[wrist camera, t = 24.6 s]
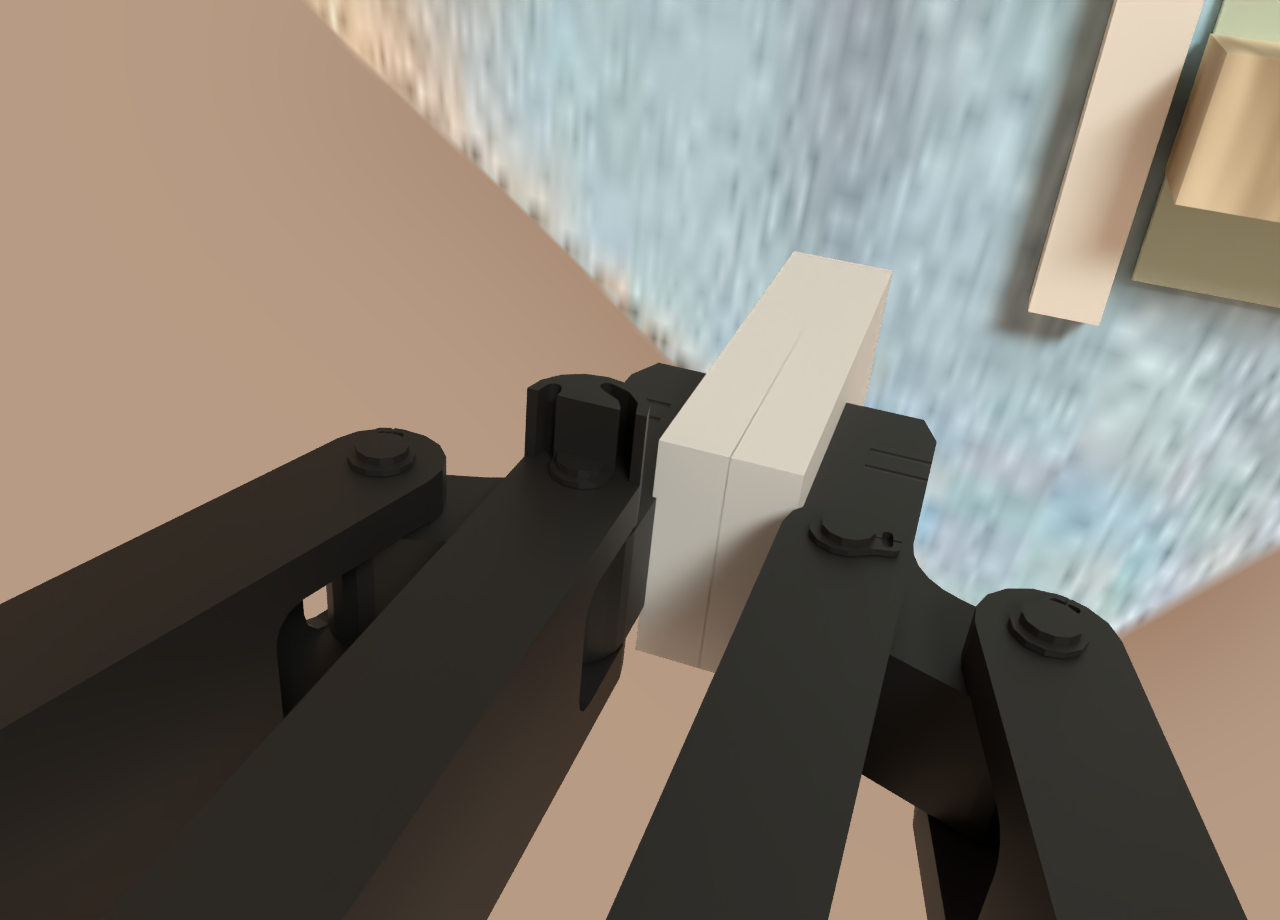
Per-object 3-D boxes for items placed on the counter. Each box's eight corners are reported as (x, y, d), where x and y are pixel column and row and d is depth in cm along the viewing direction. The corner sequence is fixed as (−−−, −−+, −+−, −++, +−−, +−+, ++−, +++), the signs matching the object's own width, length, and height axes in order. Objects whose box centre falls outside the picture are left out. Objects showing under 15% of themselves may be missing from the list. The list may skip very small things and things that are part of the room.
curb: (1029, 297, 42) (1028, 311, 40) (1147, -118, 35) (1150, -117, 33) (1097, 310, 41) (1099, 325, 40) (1232, -109, 34) (1239, -108, 33)
